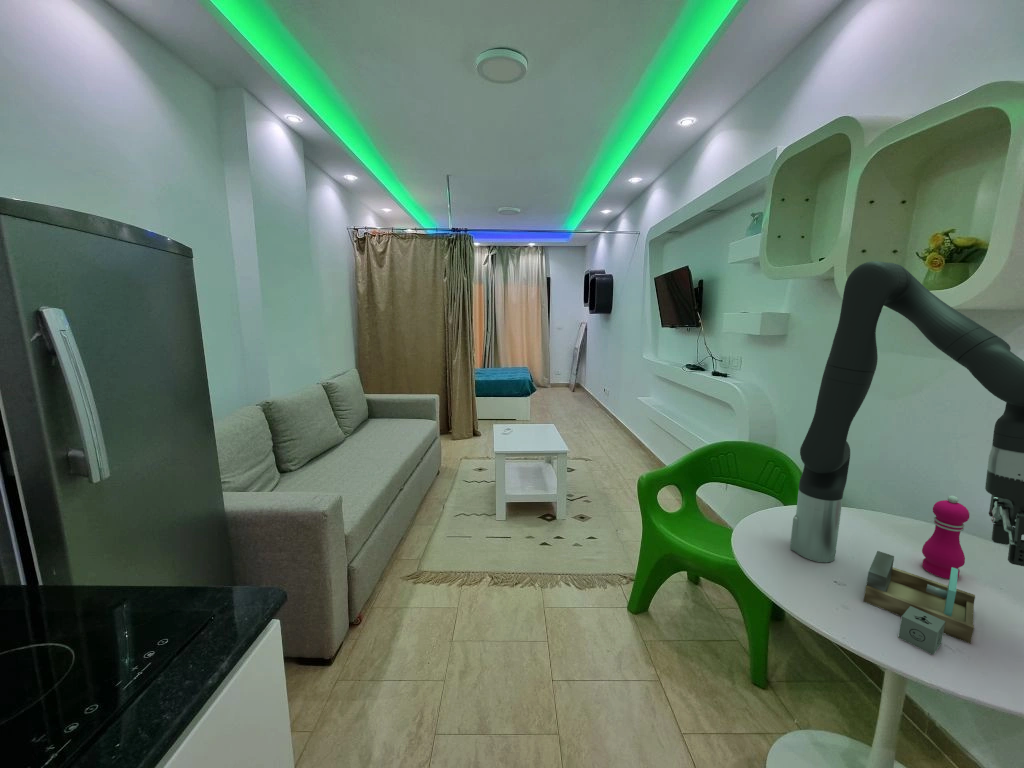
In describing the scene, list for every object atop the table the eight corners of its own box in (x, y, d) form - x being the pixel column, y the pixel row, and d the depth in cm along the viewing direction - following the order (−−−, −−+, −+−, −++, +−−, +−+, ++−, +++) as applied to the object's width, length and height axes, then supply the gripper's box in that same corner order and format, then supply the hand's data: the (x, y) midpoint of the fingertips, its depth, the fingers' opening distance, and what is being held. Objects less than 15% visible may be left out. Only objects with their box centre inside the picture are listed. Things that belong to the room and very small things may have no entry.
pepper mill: (970, 582, 96) (986, 504, 92) (934, 579, 97) (948, 502, 94) (945, 563, 103) (958, 490, 99) (911, 561, 104) (923, 488, 101)
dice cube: (898, 638, 81) (901, 616, 80) (906, 627, 83) (910, 605, 82) (933, 655, 76) (937, 632, 76) (941, 643, 79) (945, 621, 78)
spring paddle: (921, 616, 85) (927, 582, 83) (926, 592, 91) (931, 560, 90) (949, 627, 82) (956, 592, 80) (952, 602, 88) (958, 569, 87)
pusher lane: (863, 601, 91) (867, 573, 89) (874, 574, 99) (878, 549, 98) (970, 644, 79) (977, 612, 77) (972, 609, 87) (978, 580, 86)
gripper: (976, 458, 83) (968, 532, 85) (1002, 481, 72) (991, 565, 74) (1033, 463, 78) (1023, 541, 81) (1070, 489, 67) (1057, 579, 69)
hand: (1008, 553), depth 77 cm, fingers open, 8 cm apart
